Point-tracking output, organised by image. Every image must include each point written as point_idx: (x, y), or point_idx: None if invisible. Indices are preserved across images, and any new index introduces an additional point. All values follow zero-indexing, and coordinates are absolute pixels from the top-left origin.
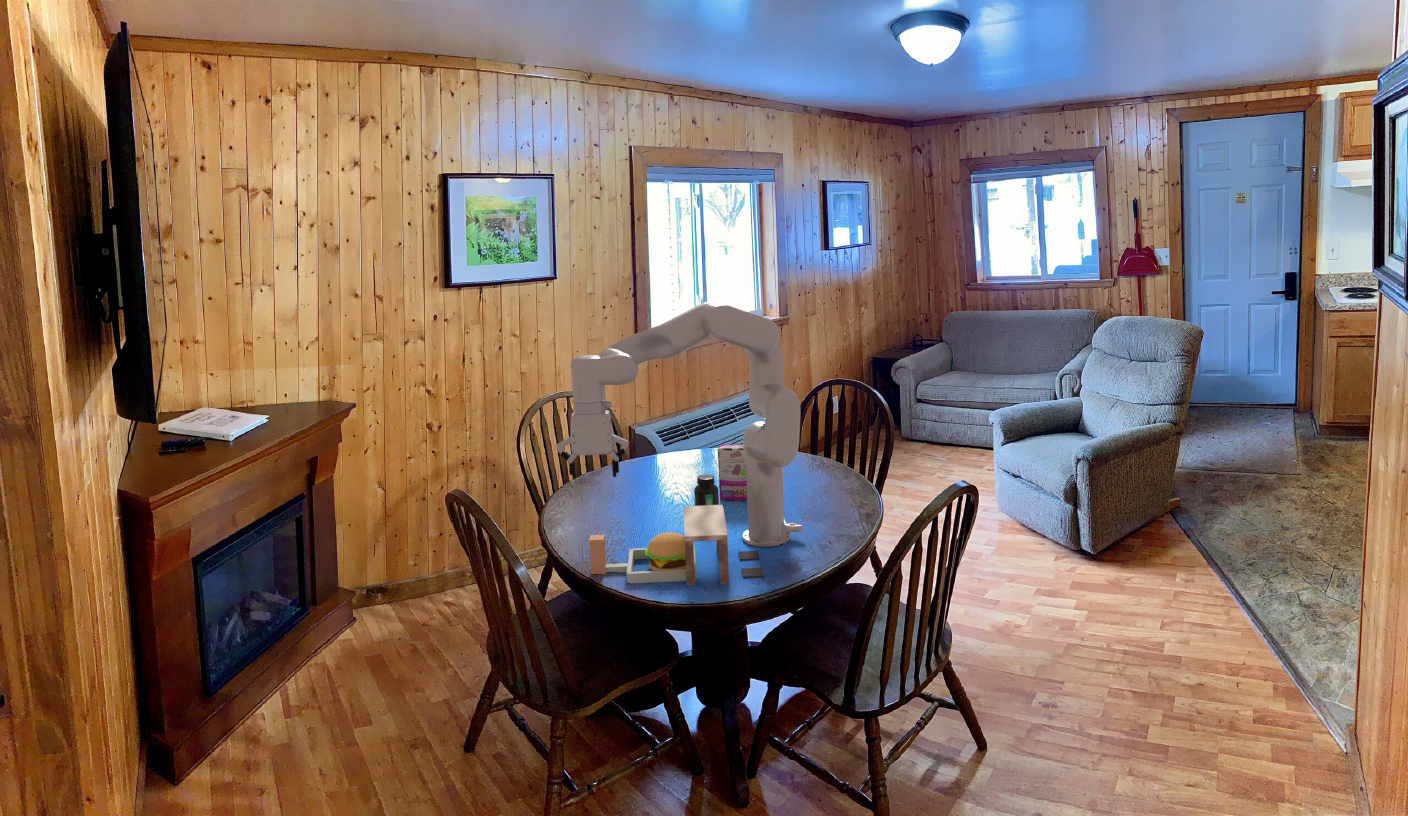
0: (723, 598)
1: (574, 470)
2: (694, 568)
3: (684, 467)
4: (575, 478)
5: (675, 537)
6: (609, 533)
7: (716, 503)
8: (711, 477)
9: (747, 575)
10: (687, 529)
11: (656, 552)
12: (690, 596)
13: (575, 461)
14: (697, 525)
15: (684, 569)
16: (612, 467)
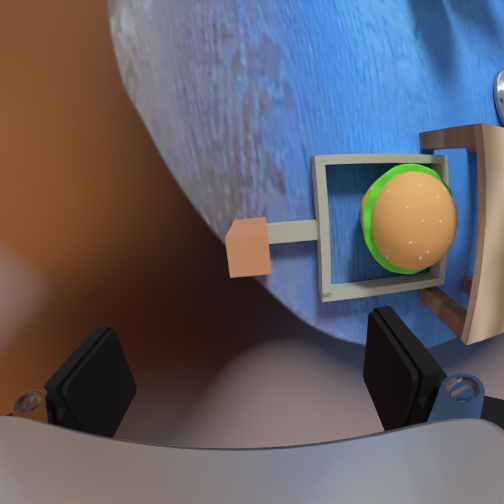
0: (454, 337)
1: (116, 424)
2: (443, 275)
3: None
4: (134, 388)
5: (444, 240)
6: (235, 16)
7: None
8: None
9: None
10: (481, 303)
11: (393, 263)
12: (417, 336)
13: (75, 409)
14: (500, 276)
15: (428, 280)
16: (381, 420)
